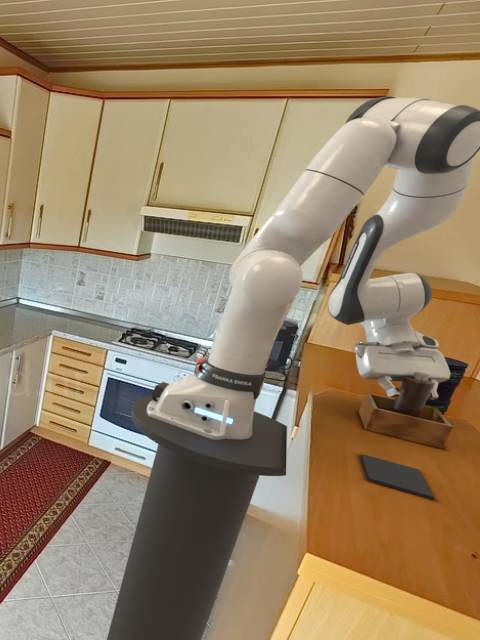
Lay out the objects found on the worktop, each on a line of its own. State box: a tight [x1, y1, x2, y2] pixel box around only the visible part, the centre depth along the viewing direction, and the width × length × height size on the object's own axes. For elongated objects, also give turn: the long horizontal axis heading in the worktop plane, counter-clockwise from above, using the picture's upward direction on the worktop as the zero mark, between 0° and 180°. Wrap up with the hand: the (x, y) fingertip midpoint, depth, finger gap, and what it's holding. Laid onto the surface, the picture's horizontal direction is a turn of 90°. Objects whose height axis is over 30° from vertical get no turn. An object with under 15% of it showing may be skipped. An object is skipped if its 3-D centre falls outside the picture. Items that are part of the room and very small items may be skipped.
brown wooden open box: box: [358, 392, 454, 450], centre depth 113 cm, size 14×14×5 cm
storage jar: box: [424, 356, 469, 417], centre depth 123 cm, size 10×10×15 cm
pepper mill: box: [390, 372, 434, 418], centre depth 111 cm, size 5×5×13 cm
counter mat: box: [360, 453, 435, 500], centre depth 90 cm, size 9×12×1 cm
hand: (413, 397), depth 111 cm, fingers open, 8 cm apart
